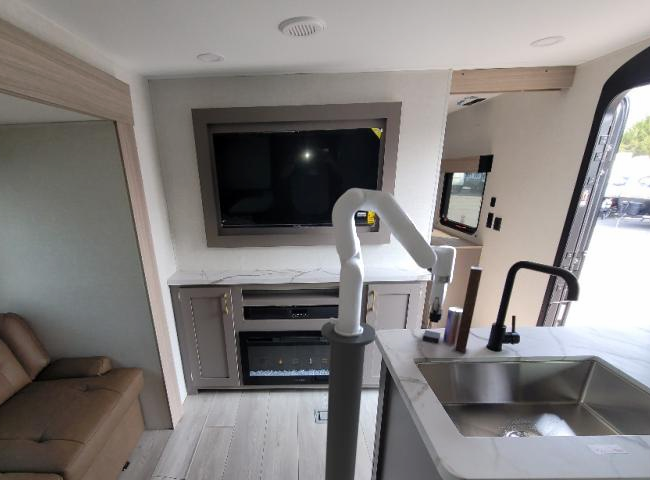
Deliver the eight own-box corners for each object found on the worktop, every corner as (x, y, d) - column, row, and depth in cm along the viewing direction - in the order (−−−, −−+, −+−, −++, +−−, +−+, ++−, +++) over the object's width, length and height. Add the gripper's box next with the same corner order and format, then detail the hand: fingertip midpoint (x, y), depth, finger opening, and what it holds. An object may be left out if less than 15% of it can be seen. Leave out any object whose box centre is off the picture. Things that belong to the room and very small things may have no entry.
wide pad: (422, 340, 138) (423, 335, 137) (424, 334, 142) (425, 330, 142) (437, 343, 135) (438, 338, 134) (439, 338, 140) (440, 333, 139)
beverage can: (440, 342, 136) (446, 309, 131) (446, 337, 140) (452, 305, 134) (454, 347, 132) (461, 313, 127) (461, 342, 136) (467, 309, 130)
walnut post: (454, 351, 129) (470, 268, 117) (455, 347, 132) (471, 266, 120) (464, 353, 127) (482, 269, 115) (465, 349, 130) (482, 267, 118)
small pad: (428, 318, 134) (429, 312, 133) (430, 314, 138) (431, 308, 137) (440, 320, 132) (441, 314, 131) (441, 316, 136) (442, 310, 135)
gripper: (434, 271, 137) (428, 311, 144) (427, 282, 124) (421, 325, 130) (453, 273, 134) (447, 314, 140) (449, 285, 120) (442, 329, 127)
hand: (435, 319), depth 135 cm, fingers closed on small pad, 4 cm apart
